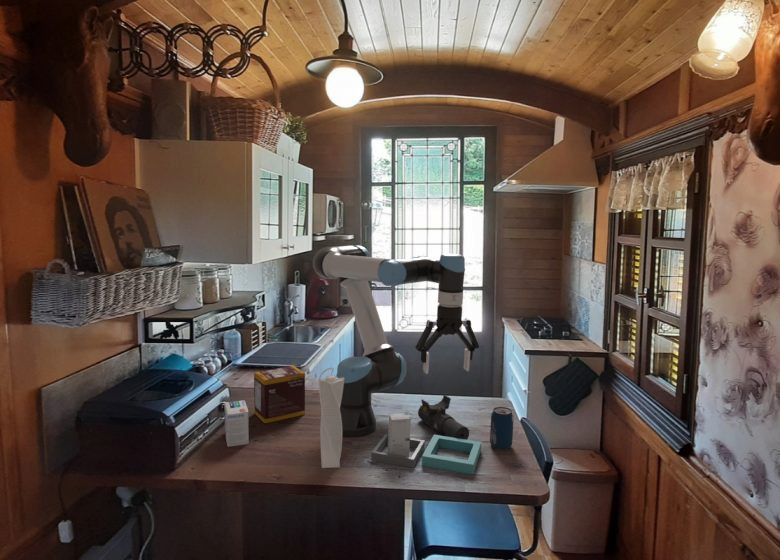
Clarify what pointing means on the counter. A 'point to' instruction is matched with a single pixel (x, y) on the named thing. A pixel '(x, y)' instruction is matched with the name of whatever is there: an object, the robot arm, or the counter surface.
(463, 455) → the counter surface
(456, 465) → the teal square frame
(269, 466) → the counter surface
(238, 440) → the light bulb box
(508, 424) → the soda can
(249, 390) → the counter surface
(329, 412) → the skyscraper
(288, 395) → the supplement box
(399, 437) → the skincare box
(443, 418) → the laser sight
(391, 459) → the gray picture frame
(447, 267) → the robot arm
